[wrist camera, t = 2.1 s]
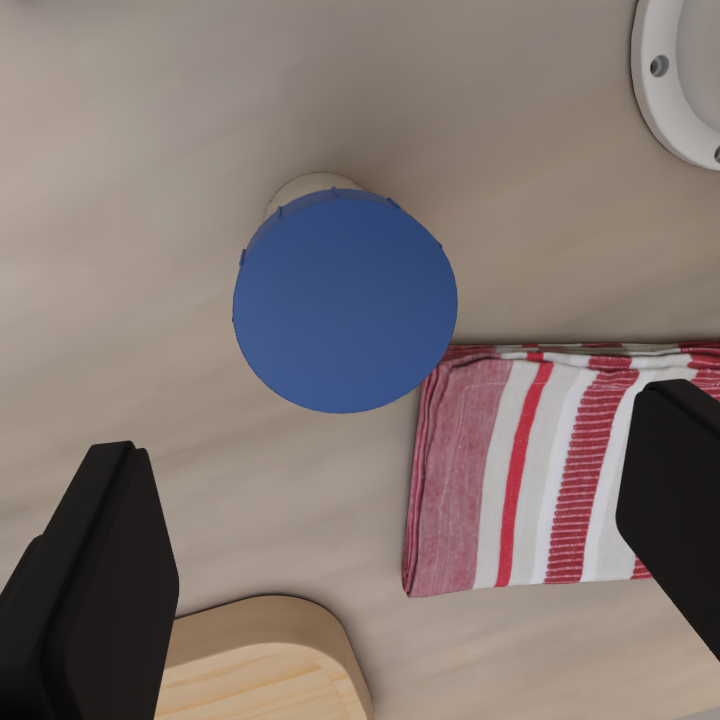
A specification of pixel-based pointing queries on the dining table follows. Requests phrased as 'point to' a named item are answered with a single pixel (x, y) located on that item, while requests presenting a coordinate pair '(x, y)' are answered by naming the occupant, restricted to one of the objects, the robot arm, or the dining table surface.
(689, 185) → the dining table surface
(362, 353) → the lid
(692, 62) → the robot arm
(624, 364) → the dish towel
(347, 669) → the lamp
